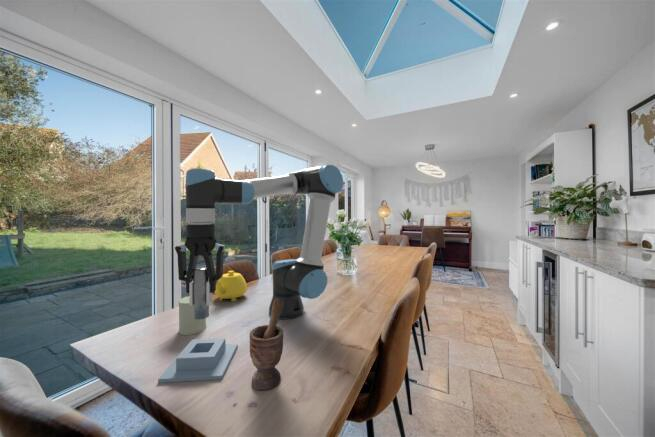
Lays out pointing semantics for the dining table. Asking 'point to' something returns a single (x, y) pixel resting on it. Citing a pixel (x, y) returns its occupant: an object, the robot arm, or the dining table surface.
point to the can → (189, 318)
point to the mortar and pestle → (267, 350)
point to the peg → (200, 293)
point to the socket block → (200, 361)
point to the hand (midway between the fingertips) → (201, 303)
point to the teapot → (231, 286)
